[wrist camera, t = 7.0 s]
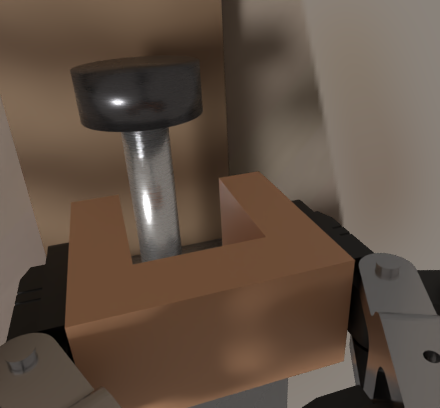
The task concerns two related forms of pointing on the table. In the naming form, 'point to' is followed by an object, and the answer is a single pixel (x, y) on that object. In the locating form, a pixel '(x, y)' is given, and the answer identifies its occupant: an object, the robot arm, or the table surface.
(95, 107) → the shaft
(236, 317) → the spacer
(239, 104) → the table surface
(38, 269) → the robot arm
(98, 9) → the baseboard
